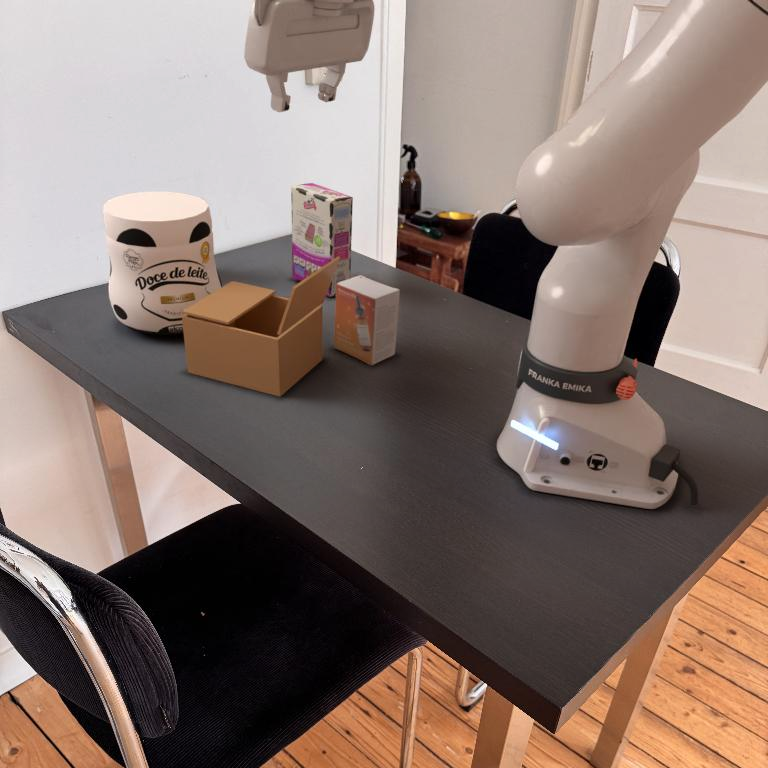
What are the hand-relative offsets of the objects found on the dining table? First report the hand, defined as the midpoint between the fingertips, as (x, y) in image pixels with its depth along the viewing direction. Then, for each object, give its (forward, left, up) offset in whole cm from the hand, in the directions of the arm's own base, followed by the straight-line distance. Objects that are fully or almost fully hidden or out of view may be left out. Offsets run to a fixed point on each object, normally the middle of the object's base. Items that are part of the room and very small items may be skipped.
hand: (303, 105), depth 99 cm
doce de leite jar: (+25, 0, -34) cm, 42 cm away
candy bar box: (+11, -26, -34) cm, 44 cm away
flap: (-4, +7, -21) cm, 23 cm away
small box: (-7, -5, -34) cm, 36 cm away
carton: (+5, +7, -34) cm, 35 cm away
